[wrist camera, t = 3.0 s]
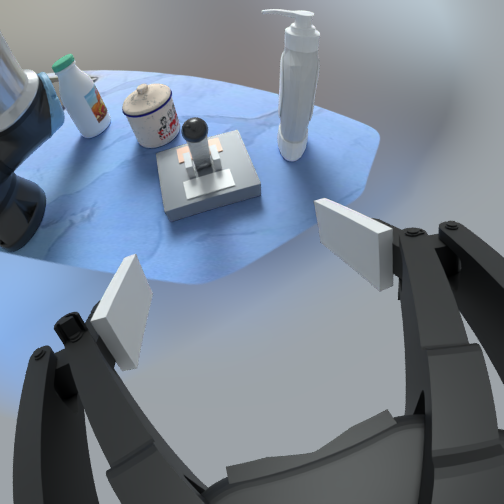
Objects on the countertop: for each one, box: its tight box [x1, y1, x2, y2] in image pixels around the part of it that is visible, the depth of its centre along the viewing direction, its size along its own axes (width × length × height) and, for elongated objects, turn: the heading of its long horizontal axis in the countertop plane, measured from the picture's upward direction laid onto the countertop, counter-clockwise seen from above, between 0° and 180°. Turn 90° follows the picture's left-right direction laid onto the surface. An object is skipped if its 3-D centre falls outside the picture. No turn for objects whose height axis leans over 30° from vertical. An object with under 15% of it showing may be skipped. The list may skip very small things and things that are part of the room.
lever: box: [181, 117, 212, 170], centre depth 34 cm, size 3×3×13 cm
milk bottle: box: [52, 54, 111, 138], centre depth 41 cm, size 8×8×20 cm
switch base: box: [156, 130, 261, 222], centre depth 40 cm, size 12×14×5 cm
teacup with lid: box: [122, 84, 180, 148], centre depth 43 cm, size 12×9×12 cm
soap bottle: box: [262, 9, 320, 161], centre depth 34 cm, size 13×8×24 cm, turn 173°
